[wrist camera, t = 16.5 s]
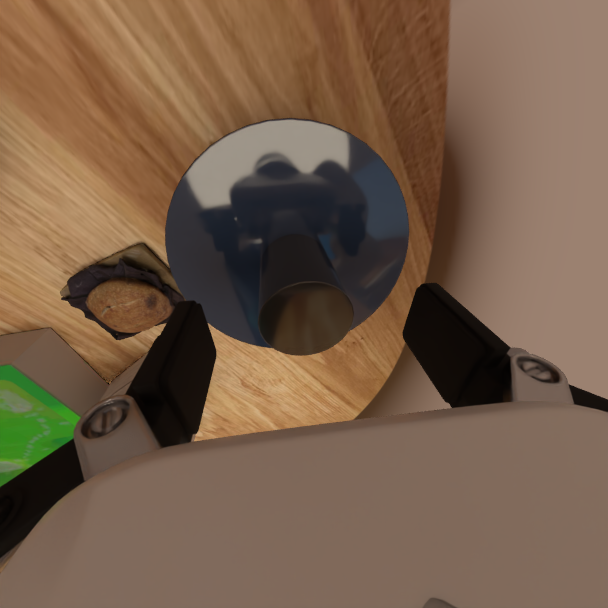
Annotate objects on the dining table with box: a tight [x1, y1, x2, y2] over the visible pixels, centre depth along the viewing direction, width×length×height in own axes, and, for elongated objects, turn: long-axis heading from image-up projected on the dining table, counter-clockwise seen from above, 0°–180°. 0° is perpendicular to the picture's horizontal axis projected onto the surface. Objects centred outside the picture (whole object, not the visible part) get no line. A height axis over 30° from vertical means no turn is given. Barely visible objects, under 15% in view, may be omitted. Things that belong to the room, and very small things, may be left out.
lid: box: [165, 118, 409, 356], centre depth 12 cm, size 14×14×6 cm
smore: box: [60, 243, 186, 340], centre depth 23 cm, size 11×8×4 cm
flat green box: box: [0, 328, 109, 487], centre depth 30 cm, size 25×25×5 cm
